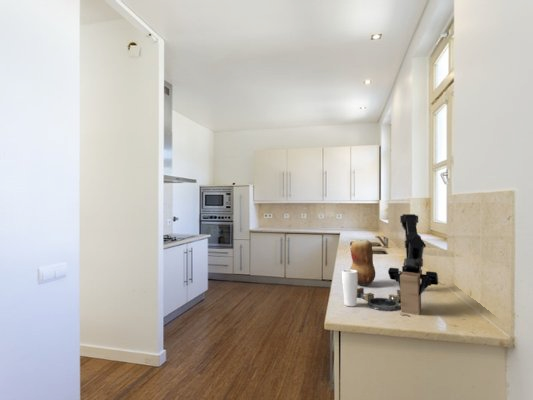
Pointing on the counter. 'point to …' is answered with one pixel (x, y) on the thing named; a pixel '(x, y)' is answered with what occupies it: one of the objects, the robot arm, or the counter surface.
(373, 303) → the dark grey shallow bowl
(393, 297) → the shaft
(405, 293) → the coupling post
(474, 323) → the counter surface
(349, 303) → the drinking glass
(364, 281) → the butternut squash
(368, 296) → the shaft
